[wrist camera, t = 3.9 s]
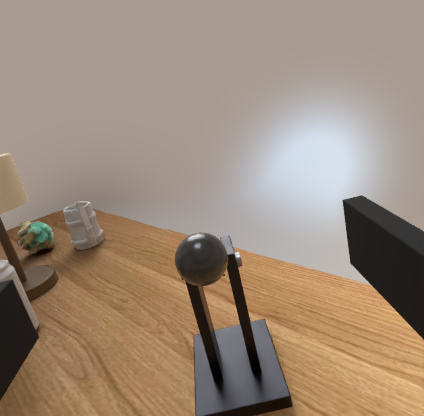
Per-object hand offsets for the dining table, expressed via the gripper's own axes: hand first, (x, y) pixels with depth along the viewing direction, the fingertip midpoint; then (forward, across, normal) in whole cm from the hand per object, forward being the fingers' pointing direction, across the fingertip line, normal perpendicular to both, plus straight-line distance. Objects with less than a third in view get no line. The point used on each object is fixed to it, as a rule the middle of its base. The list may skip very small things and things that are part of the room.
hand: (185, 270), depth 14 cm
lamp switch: (+13, 0, -8) cm, 16 cm away
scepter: (+82, -50, -22) cm, 99 cm away
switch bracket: (+19, 0, -23) cm, 30 cm away
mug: (+70, -29, -22) cm, 79 cm away
